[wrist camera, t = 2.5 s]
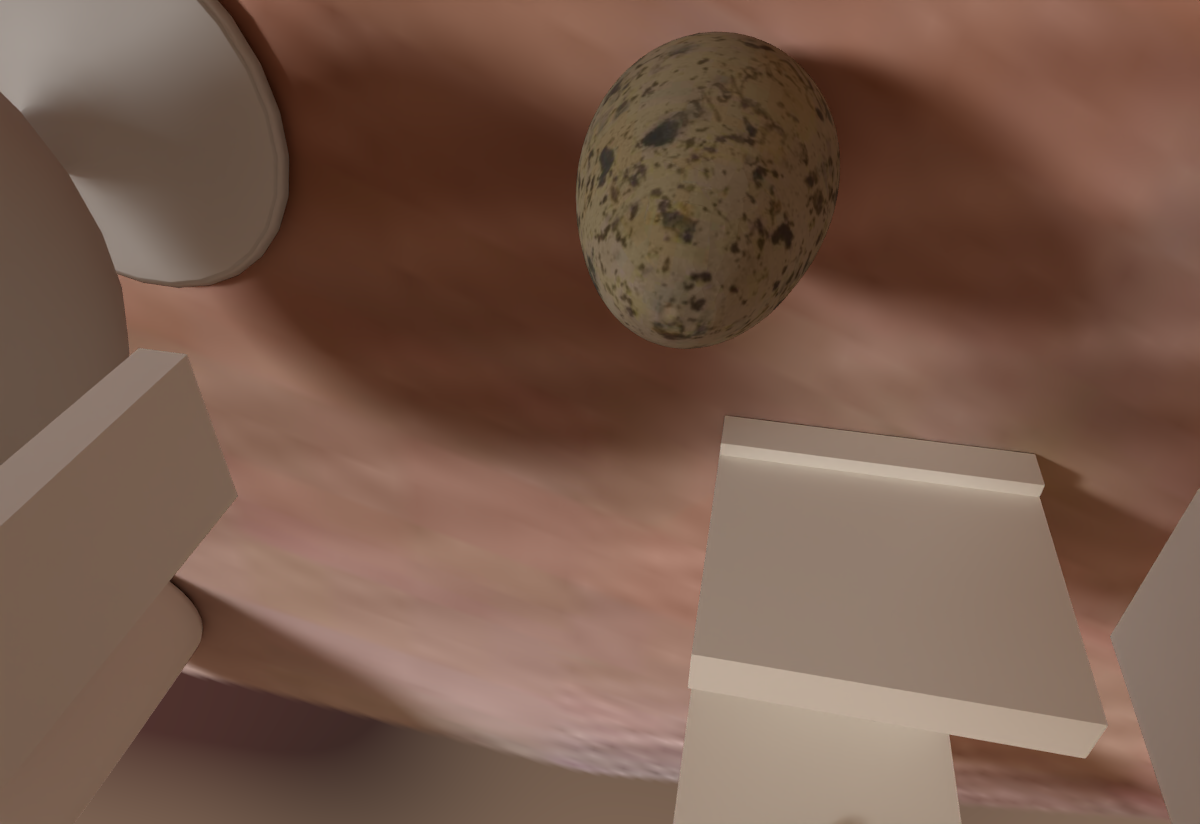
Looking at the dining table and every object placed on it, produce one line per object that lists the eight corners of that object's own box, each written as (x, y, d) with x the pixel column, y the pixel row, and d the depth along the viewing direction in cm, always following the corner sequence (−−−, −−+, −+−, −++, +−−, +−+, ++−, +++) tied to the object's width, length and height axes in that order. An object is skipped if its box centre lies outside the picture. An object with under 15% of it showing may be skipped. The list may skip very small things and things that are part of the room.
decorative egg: (885, 77, 21) (924, 261, 13) (755, 257, 25) (728, 483, 17) (682, -48, 20) (599, 71, 13) (579, 157, 24) (467, 346, 16)
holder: (725, 415, 29) (692, 642, 21) (1035, 454, 27) (1116, 713, 20) (695, 661, 37) (665, 883, 30) (929, 702, 36) (958, 946, 28)
